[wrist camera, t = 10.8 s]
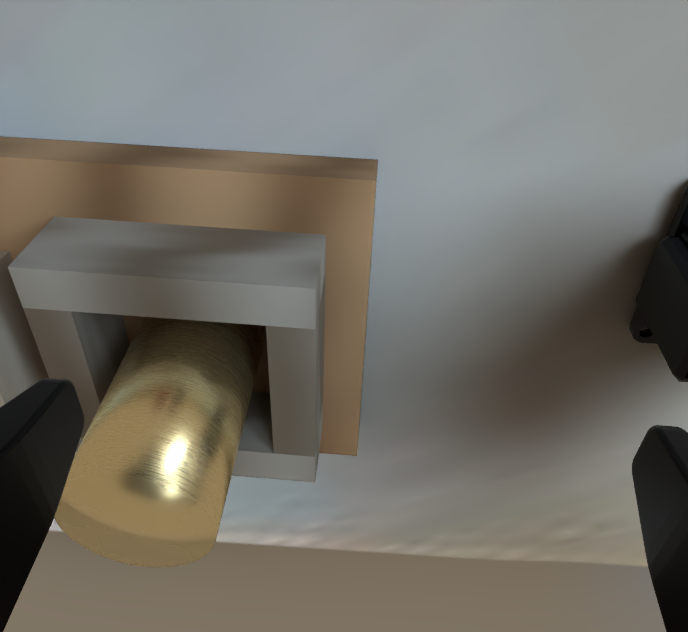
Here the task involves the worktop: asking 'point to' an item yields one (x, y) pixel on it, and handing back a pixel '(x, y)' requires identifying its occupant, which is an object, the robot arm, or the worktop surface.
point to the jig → (192, 276)
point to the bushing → (163, 444)
